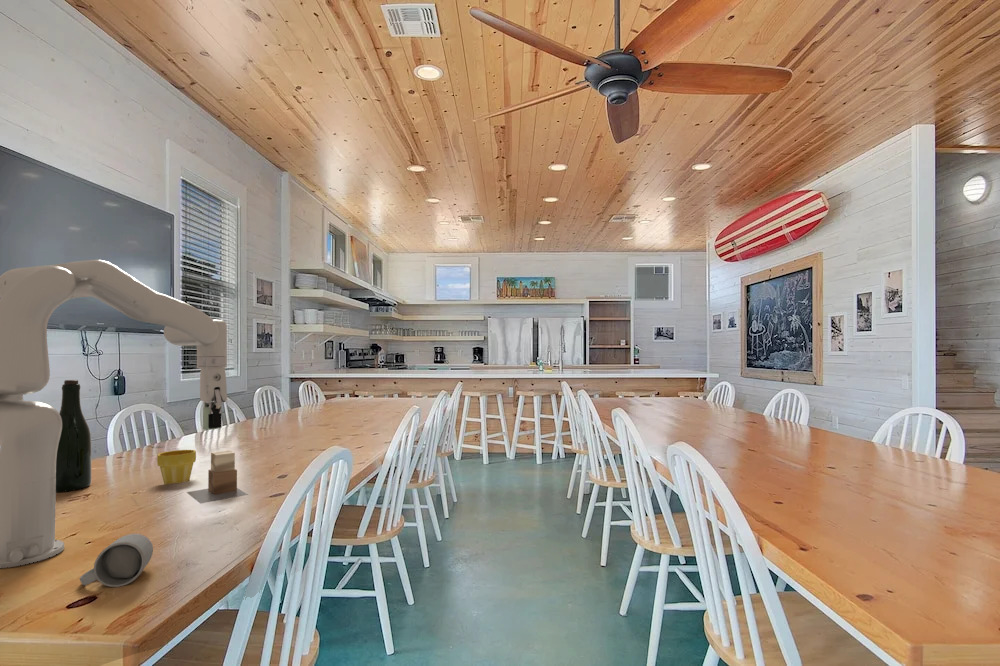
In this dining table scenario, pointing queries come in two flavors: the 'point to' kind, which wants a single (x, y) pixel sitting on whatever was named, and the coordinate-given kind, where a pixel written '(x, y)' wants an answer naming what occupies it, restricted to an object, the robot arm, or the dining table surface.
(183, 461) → the plant pot
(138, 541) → the ceramic mug
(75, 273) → the robot arm
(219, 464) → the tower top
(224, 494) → the slate board
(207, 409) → the pale green rounded piece
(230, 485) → the tower base
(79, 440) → the beer bottle
